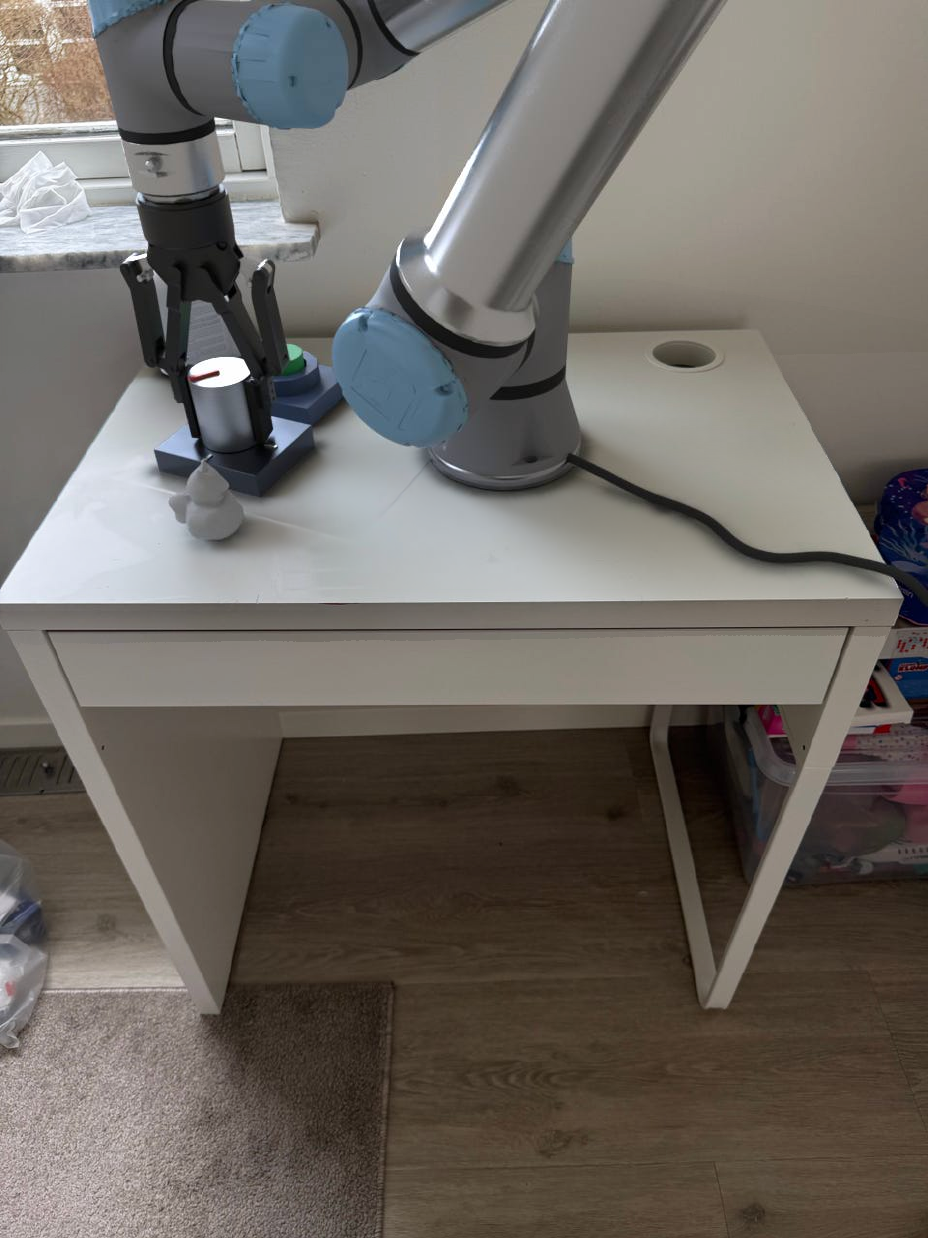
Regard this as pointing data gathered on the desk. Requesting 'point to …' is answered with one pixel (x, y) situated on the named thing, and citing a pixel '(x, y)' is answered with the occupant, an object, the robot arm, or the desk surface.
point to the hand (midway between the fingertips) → (232, 433)
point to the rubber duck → (207, 505)
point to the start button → (294, 360)
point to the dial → (222, 404)
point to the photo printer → (200, 329)
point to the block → (306, 392)
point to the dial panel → (240, 456)
